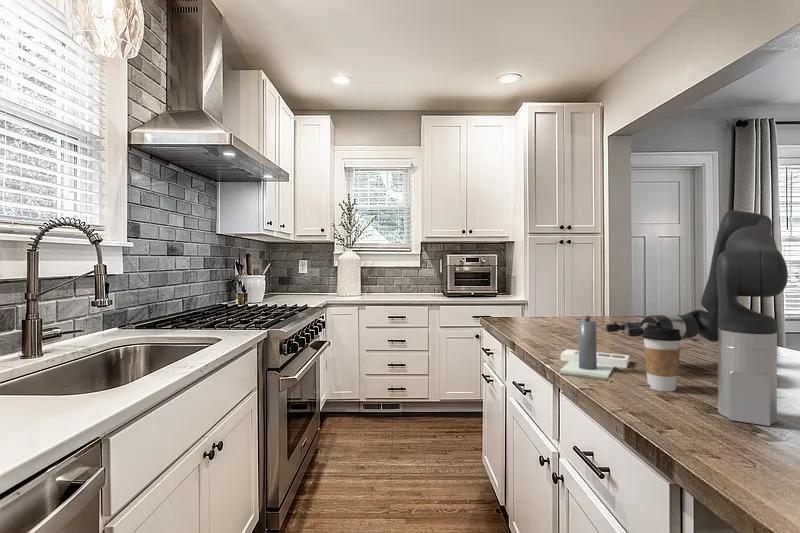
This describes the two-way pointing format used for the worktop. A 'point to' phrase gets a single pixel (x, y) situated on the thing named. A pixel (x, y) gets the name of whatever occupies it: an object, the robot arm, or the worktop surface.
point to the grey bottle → (587, 344)
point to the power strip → (598, 358)
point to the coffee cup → (662, 357)
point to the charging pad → (587, 371)
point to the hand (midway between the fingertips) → (617, 330)
